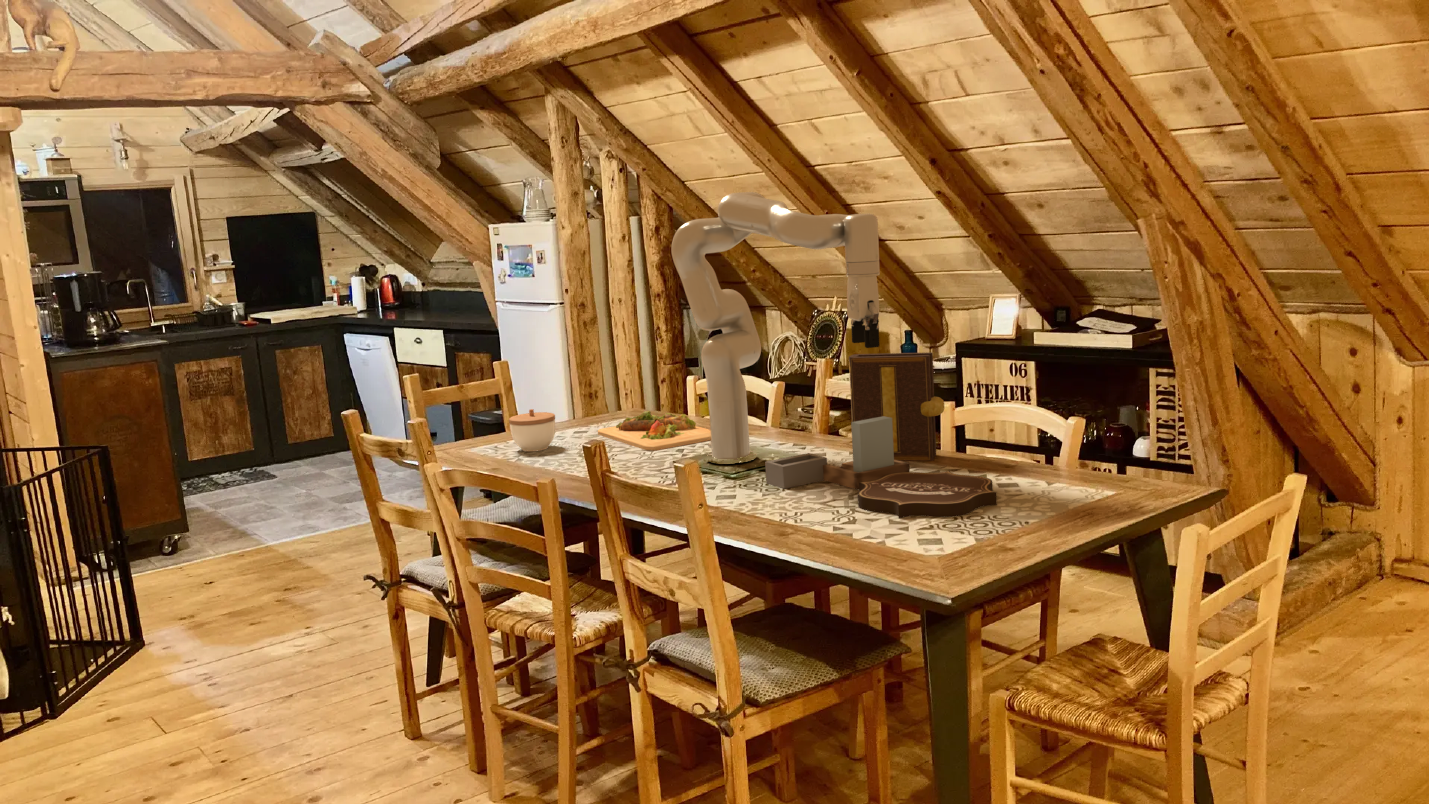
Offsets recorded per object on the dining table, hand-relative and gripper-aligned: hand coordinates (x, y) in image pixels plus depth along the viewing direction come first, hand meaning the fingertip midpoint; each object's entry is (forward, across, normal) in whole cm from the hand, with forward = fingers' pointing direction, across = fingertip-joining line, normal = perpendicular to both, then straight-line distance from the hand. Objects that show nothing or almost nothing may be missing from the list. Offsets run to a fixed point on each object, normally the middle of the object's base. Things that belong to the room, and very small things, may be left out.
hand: (865, 344), depth 264 cm
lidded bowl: (+31, -67, -75) cm, 105 cm away
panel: (+29, +10, -2) cm, 31 cm away
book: (+30, -10, +11) cm, 33 cm away
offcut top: (+28, +6, -4) cm, 29 cm away
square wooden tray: (+29, +8, -3) cm, 30 cm away
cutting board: (+31, -68, -41) cm, 85 cm away
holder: (+30, +2, -18) cm, 35 cm away
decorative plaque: (+30, +30, +2) cm, 42 cm away
